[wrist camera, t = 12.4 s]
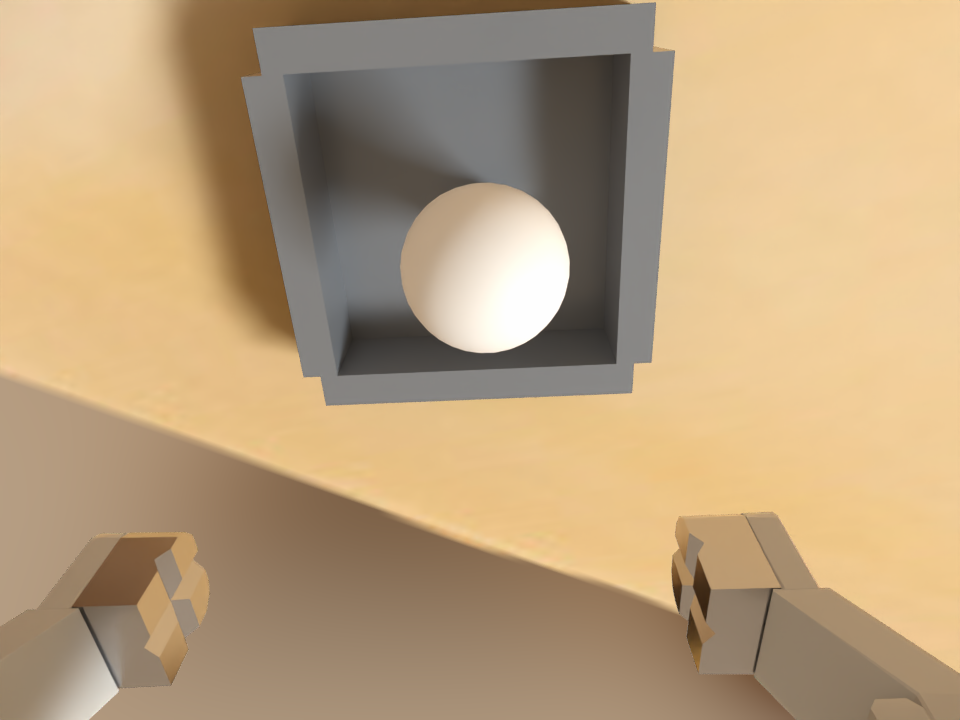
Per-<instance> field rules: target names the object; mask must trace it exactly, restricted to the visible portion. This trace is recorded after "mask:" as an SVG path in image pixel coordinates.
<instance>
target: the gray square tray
mask: <svg viewBox="0 0 960 720" xmlns="http://www.w3.org/2000/svg"><path fill="white" fill-rule="evenodd" d="M655 10H656V2H655V3H640V4H624V5H608V6H593V7H577V8H561V9H546V10H530V11H514V12H499V13H483V14H467V15H452V16H436V17H420V18H405V19H389V20H373V21H358V22H342V23H326V24H311V25H295V26H279V27H264V28H252V29H253V34H254V39H255V44H256V49H257V54H258V59H259V64H260V70H261V72H259V73H255V74H251V75H247V76H243V77H241V80H242V85H243V90H244V95H245V99H246V104H247V109H248V114H249V119H250V123H251V128H252V133H253V138H254V142H255V147H256V152H257V157H258V161H259V166H260V171H261V176H262V181H263V185H264V190H265V195H266V200H267V204H268V209H269V214H270V219H271V224H272V228H273V233H274V238H275V243H276V247H277V252H278V257H279V262H280V266H281V271H282V276H283V281H284V286H285V290H286V295H287V300H288V305H289V309H290V314H291V319H292V324H293V328H294V333H295V338H296V343H297V348H298V352H299V357H300V362H301V367H302V371H303V376H304V377H321V381H322V387H323V392H324V397H325V402H326V406H327V405H352V404H376V403H401V402H426V401H450V400H475V399H499V398H524V397H548V396H573V395H598V394H622V393H632V386H633V370H634V363H651V361H652V348H653V335H654V321H655V308H656V295H657V282H658V268H659V255H660V242H661V229H662V215H663V202H664V189H665V175H666V162H667V149H668V136H669V122H670V109H671V96H672V83H673V69H674V56H675V51H674V50H669V49H664V48H659V47H654V46H653V43H654V26H655ZM472 183H496V184H502V185H507V186H510V187H513V188H515V189H518V190H521V191H523V192H525V193H527V194H528V195H530V196H531V197H533V198H535V199H536V200H538V201H539V202H540V203H541V204H542V205H543V206H544V207H545V208H546V209H547V210H548V211H549V212H550V213H551V215H552V216H553V218H554V219H555V220H556V222H557V223H558V225H559V227H560V229H561V232H562V234H563V236H564V239H565V241H566V244H567V250H568V255H569V260H570V265H569V280H568V284H567V289H566V293H565V296H564V299H563V301H562V303H561V305H560V308H559V310H558V311H557V313H556V314H555V316H554V317H553V318H552V320H551V321H550V323H549V324H548V325H547V326H546V327H545V328H544V329H543V330H542V331H540V332H539V333H538V334H537V335H536V336H535V337H533V338H532V339H530V340H529V341H527V342H526V343H524V344H522V345H519V346H517V347H515V348H512V349H509V350H505V351H500V352H496V353H476V352H469V351H464V350H461V349H458V348H455V347H452V346H450V345H448V344H446V343H444V342H443V341H441V340H439V339H438V338H436V337H435V336H434V335H433V334H431V333H430V332H429V331H428V330H427V329H426V328H425V327H424V326H423V324H422V323H421V322H420V321H419V320H418V319H417V317H416V316H415V315H414V313H413V311H412V309H411V308H410V306H409V304H408V302H407V299H406V296H405V293H404V290H403V286H402V280H401V271H400V263H401V252H402V249H403V245H404V242H405V239H406V236H407V233H408V231H409V229H410V227H411V226H412V224H413V222H414V220H415V218H416V217H417V216H418V215H419V214H420V212H421V211H422V210H423V209H424V208H425V207H426V206H427V205H428V204H429V203H430V202H432V201H433V200H434V199H436V198H437V197H438V196H440V195H441V194H443V193H445V192H447V191H450V190H452V189H454V188H456V187H460V186H464V185H468V184H472Z"/></svg>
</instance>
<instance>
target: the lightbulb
mask: <svg viewBox="0 0 960 720" xmlns="http://www.w3.org/2000/svg"><path fill="white" fill-rule="evenodd" d="M569 265H570V260H569V255H568V250H567V244H566V241H565V239H564V236H563V234H562V232H561V229H560V227H559V225H558V223H557V222H556V220H555V219H554V218H553V216H552V215H551V213H550V212H549V211H548V210H547V209H546V208H545V207H544V206H543V205H542V204H541V203H540V202H539V201H538V200H536V199H535V198H533V197H531V196H530V195H528V194H527V193H525V192H523V191H521V190H518V189H515V188H513V187H510V186H507V185H502V184H496V183H472V184H468V185H464V186H460V187H456V188H454V189H452V190H450V191H447V192H445V193H443V194H441V195H440V196H438V197H437V198H436V199H434V200H433V201H432V202H430V203H429V204H428V205H427V206H426V207H425V208H424V209H423V210H422V211H421V212H420V214H419V215H418V216H417V217H416V218H415V220H414V222H413V224H412V226H411V227H410V229H409V231H408V233H407V236H406V239H405V242H404V245H403V249H402V252H401V263H400V271H401V280H402V286H403V290H404V293H405V296H406V299H407V302H408V304H409V306H410V308H411V309H412V311H413V313H414V315H415V316H416V317H417V319H418V320H419V321H420V322H421V323H422V324H423V326H424V327H425V328H426V329H427V330H428V331H429V332H430V333H431V334H433V335H434V336H435V337H436V338H438V339H439V340H441V341H443V342H444V343H446V344H448V345H450V346H452V347H455V348H458V349H461V350H464V351H469V352H476V353H496V352H500V351H505V350H509V349H512V348H515V347H517V346H519V345H522V344H524V343H526V342H527V341H529V340H530V339H532V338H533V337H535V336H536V335H537V334H538V333H539V332H540V331H542V330H543V329H544V328H545V327H546V326H547V325H548V324H549V323H550V321H551V320H552V318H553V317H554V316H555V314H556V313H557V311H558V310H559V308H560V305H561V303H562V301H563V299H564V296H565V293H566V289H567V284H568V280H569Z"/></svg>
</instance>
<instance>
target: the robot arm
mask: <svg viewBox="0 0 960 720" xmlns="http://www.w3.org/2000/svg"><path fill="white" fill-rule="evenodd" d="M675 537H676V539H677V542H678V545H679V548H680V549H678V550H677V551H676V552H675V553H674V554H673V558H672V586H673V592H674V597H675V601H676V605H677V608H678V612H679V614H680V615H681V616H682V617H684V618H685V619H686V620H687V621H688V629H687V641H688V644H689V647H690V650H691V653H692V656H693V659H694V662H695V665H696V668H697V672H698V674H755V675H754V678H756V680H758V681H759V683H760V684H761V685H762V686H763V687H764V688H765V689H766V690H767V691H768V692H769V693H770V694H771V695H772V696H773V697H774V698H775V699H776V700H777V701H778V702H779V703H780V704H781V705H782V706H783V707H784V708H785V709H786V710H787V711H788V712H789V713H790V714H791V715H792V716H793V717H794V718H795V719H796V720H960V674H959V673H958V672H956V671H955V670H953V669H952V668H950V667H949V666H947V665H946V664H944V663H943V662H941V661H940V660H938V659H937V658H935V657H934V656H932V655H931V654H929V653H928V652H926V651H924V650H923V649H921V648H920V647H918V646H917V645H915V644H914V643H912V642H911V641H909V640H908V639H906V638H905V637H903V636H902V635H900V634H899V633H897V632H896V631H894V630H893V629H891V628H890V627H888V626H887V625H885V624H883V623H882V622H880V621H879V620H877V619H876V618H874V617H873V616H871V615H870V614H868V613H867V612H865V611H864V610H862V609H861V608H859V607H858V606H856V605H855V604H853V603H852V602H850V601H849V600H847V599H846V598H844V597H842V596H841V595H839V594H838V593H836V592H835V591H833V590H832V589H830V588H819V586H818V584H817V582H816V581H815V579H814V577H813V576H812V574H811V572H810V570H809V569H808V567H807V565H806V563H805V562H804V560H803V558H802V557H801V555H800V553H799V551H798V550H797V548H796V546H795V545H794V543H793V541H792V539H791V538H790V536H789V534H788V532H787V531H786V529H785V527H784V526H783V524H782V522H781V520H780V519H779V517H778V516H777V515H776V514H775V513H773V512H761V513H741V514H726V515H701V516H679V518H678V520H677V523H676V530H675ZM197 551H198V548H197V545H196V543H195V540H194V538H193V535H191V534H188V533H186V532H158V533H156V532H155V533H128V534H126V533H123V534H122V533H121V534H120V533H118V534H117V533H109V534H107V533H102V534H99V535H97V536H95V537H93V538H91V540H90V541H89V542H88V543H87V545H86V546H85V547H84V549H83V550H82V551H81V553H80V554H79V555H78V556H77V558H76V559H75V560H74V562H73V563H72V564H71V565H70V567H69V568H68V569H67V571H66V572H65V573H64V574H63V576H62V577H61V578H60V580H59V581H58V583H57V584H56V585H55V586H54V587H53V589H52V590H51V591H50V593H49V594H48V596H47V597H46V598H45V599H44V600H43V602H42V603H41V604H40V606H39V607H38V608H37V609H36V610H26V611H24V612H23V613H21V614H20V615H18V616H16V617H15V618H13V619H12V620H10V621H8V622H7V623H5V624H4V625H2V626H0V720H89V719H90V718H91V717H92V716H93V715H94V714H95V713H96V712H97V711H99V709H101V708H102V706H104V705H105V704H106V703H107V702H108V701H109V700H110V699H111V698H112V697H113V696H114V695H115V694H117V693H118V692H119V690H118V688H135V687H155V686H171V685H172V683H173V681H174V679H175V677H176V675H177V673H178V671H179V669H180V666H181V664H182V662H183V660H184V658H185V656H186V654H187V652H188V650H189V649H188V646H187V643H186V639H185V638H186V637H187V636H188V635H189V634H191V633H192V632H193V631H194V630H196V629H197V628H198V627H199V626H200V625H201V622H202V620H203V618H204V616H205V613H206V611H207V606H208V600H209V595H210V591H209V580H208V577H207V574H206V571H205V569H204V568H203V567H202V566H200V565H199V564H198V563H197V562H195V561H194V560H193V558H194V556H195V554H196V553H197Z"/></svg>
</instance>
